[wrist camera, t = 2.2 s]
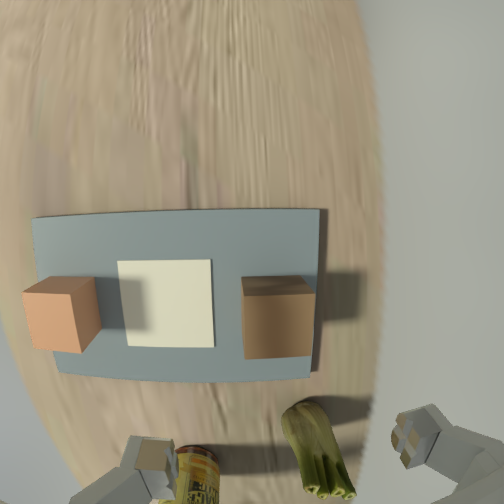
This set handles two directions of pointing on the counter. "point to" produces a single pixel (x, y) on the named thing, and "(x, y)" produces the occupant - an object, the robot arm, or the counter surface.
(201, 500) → the sauce bottle
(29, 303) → the terracotta block
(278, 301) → the walnut block
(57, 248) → the build board
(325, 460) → the fennel bulb
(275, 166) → the counter surface
